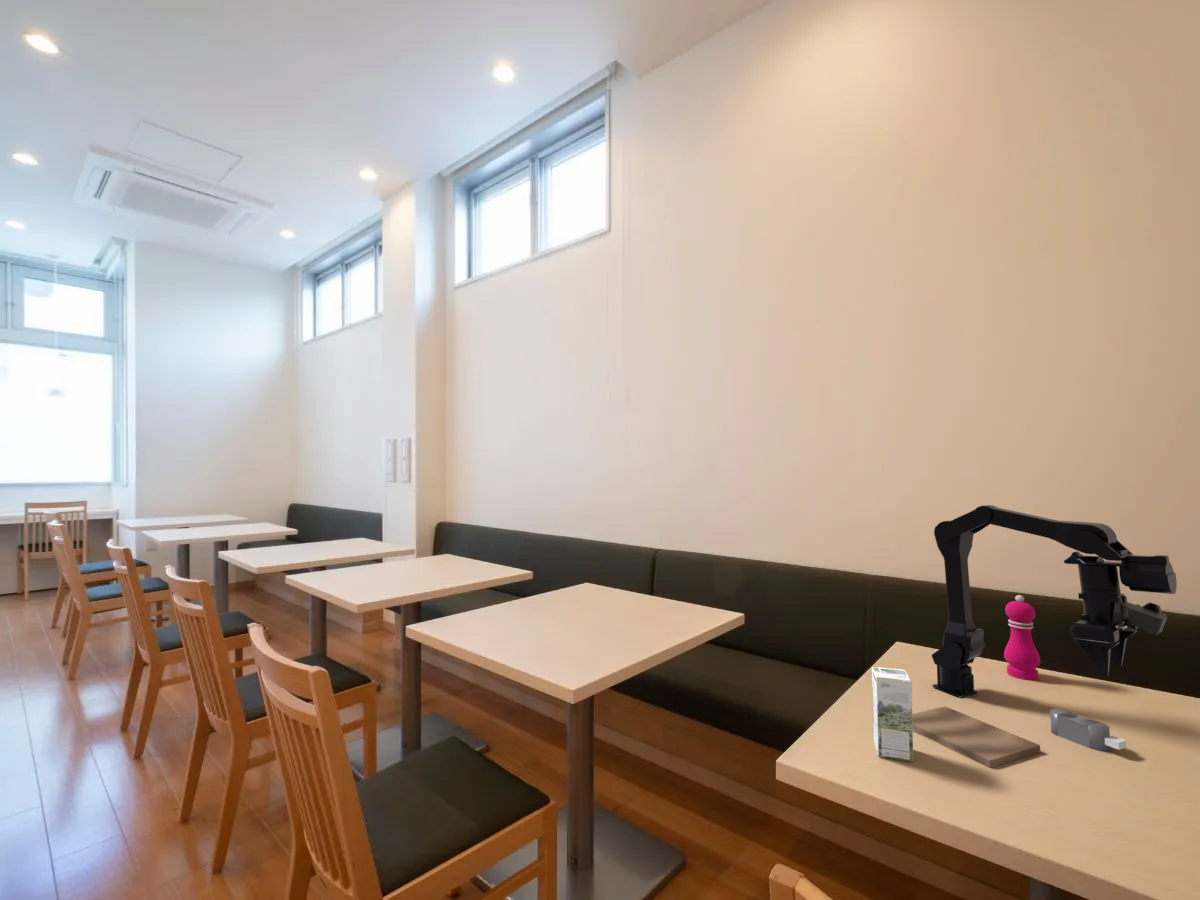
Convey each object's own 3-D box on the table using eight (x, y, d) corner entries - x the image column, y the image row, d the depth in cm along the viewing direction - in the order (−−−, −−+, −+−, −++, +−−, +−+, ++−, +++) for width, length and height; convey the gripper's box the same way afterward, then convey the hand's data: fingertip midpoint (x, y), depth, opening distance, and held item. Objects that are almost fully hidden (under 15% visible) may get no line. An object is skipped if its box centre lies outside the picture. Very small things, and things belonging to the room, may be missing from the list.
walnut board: (897, 723, 110) (897, 717, 110) (945, 711, 115) (945, 706, 115) (989, 767, 93) (989, 760, 93) (1040, 751, 99) (1040, 745, 99)
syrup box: (907, 747, 100) (904, 668, 101) (914, 763, 95) (911, 679, 96) (873, 742, 102) (871, 664, 103) (878, 758, 97) (875, 675, 97)
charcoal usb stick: (1046, 731, 106) (1045, 710, 107) (1058, 728, 108) (1057, 707, 108) (1116, 758, 96) (1115, 735, 96) (1129, 754, 98) (1128, 731, 98)
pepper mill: (1028, 670, 139) (1025, 592, 140) (1048, 681, 132) (1045, 598, 133) (998, 669, 140) (995, 591, 141) (1016, 680, 133) (1013, 598, 134)
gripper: (1145, 599, 94) (1159, 693, 92) (1169, 586, 104) (1181, 670, 103) (1064, 592, 103) (1075, 677, 101) (1093, 581, 113) (1104, 658, 112)
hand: (1111, 671), depth 104 cm, fingers open, 9 cm apart
